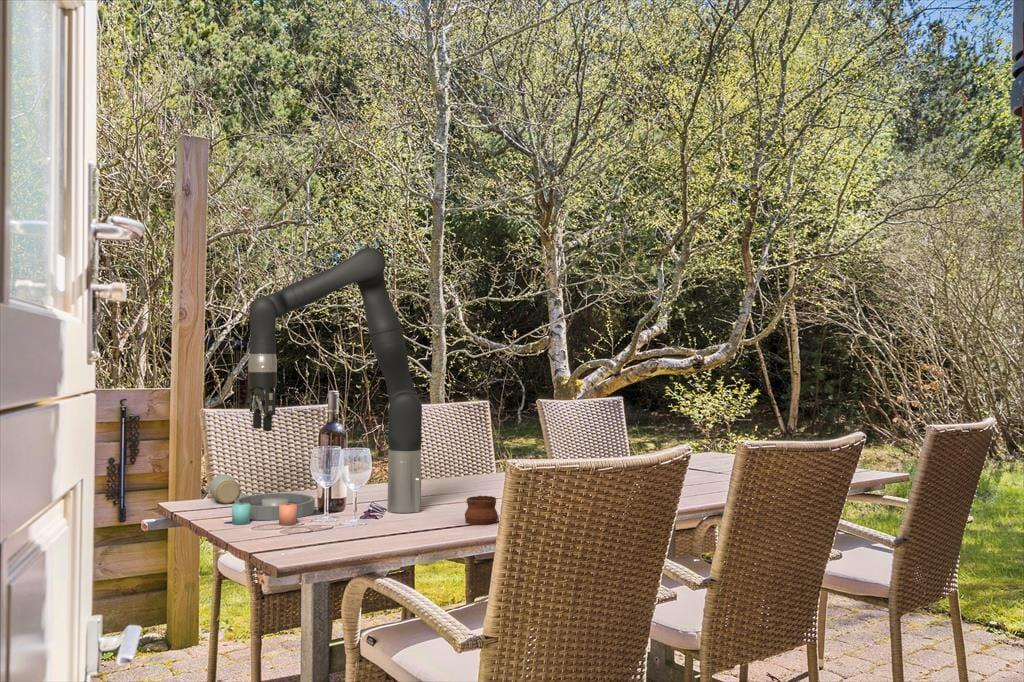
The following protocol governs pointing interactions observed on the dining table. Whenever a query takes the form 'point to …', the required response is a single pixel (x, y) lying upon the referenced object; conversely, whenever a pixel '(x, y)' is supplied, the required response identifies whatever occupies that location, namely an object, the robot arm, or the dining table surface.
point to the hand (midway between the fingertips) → (262, 429)
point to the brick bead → (287, 514)
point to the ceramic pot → (481, 510)
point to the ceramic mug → (225, 489)
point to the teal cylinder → (241, 513)
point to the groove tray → (277, 504)
